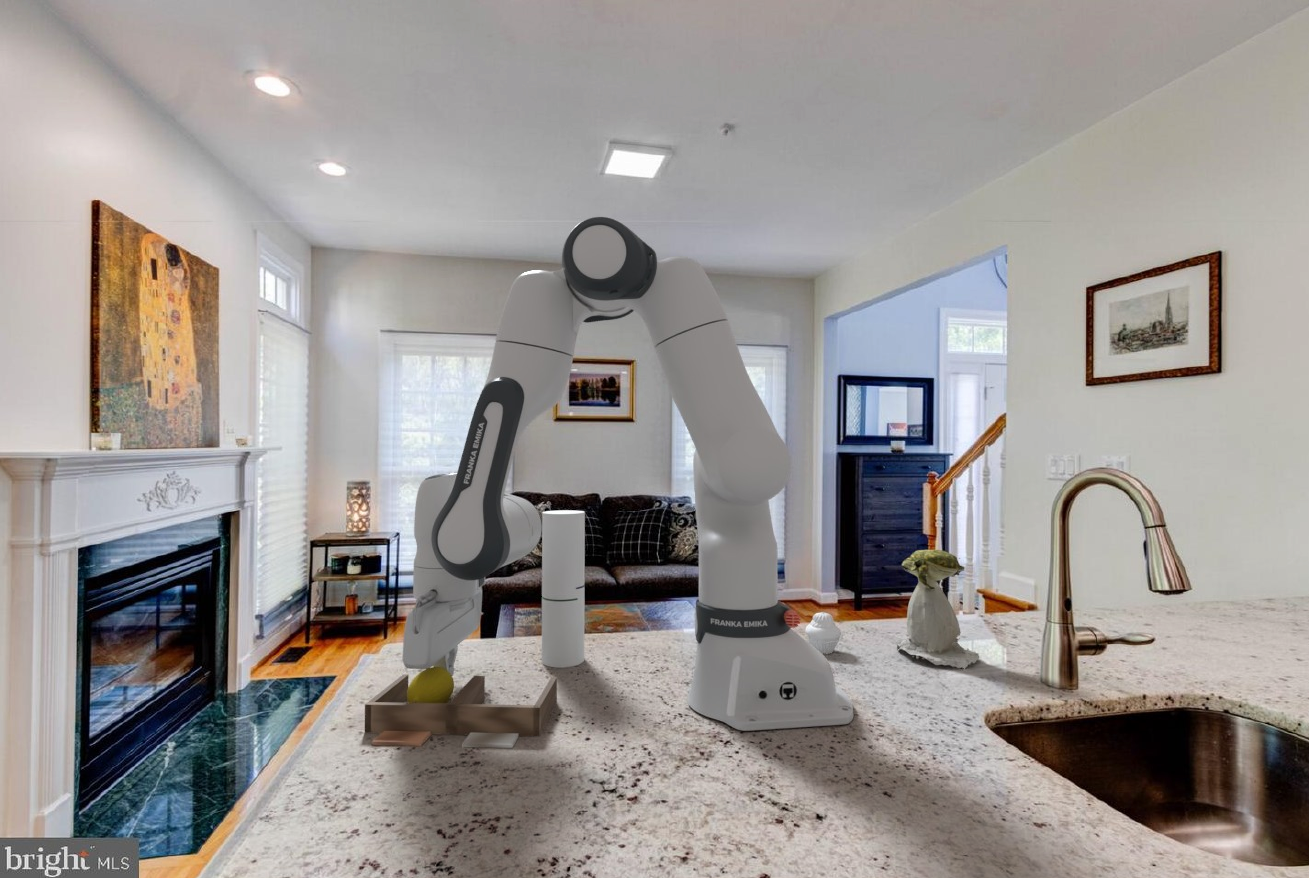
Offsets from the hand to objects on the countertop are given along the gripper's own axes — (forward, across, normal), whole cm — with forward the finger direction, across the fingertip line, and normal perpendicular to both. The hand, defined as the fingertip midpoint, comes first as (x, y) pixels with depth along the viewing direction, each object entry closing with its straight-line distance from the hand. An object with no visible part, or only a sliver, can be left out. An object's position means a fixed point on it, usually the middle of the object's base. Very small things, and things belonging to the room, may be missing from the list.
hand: (444, 679), depth 92 cm
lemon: (-1, -1, -1) cm, 2 cm away
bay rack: (+2, -9, -6) cm, 11 cm away
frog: (+2, +22, -78) cm, 81 cm away
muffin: (+2, +24, -59) cm, 64 cm away
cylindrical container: (+2, +16, -14) cm, 22 cm away
